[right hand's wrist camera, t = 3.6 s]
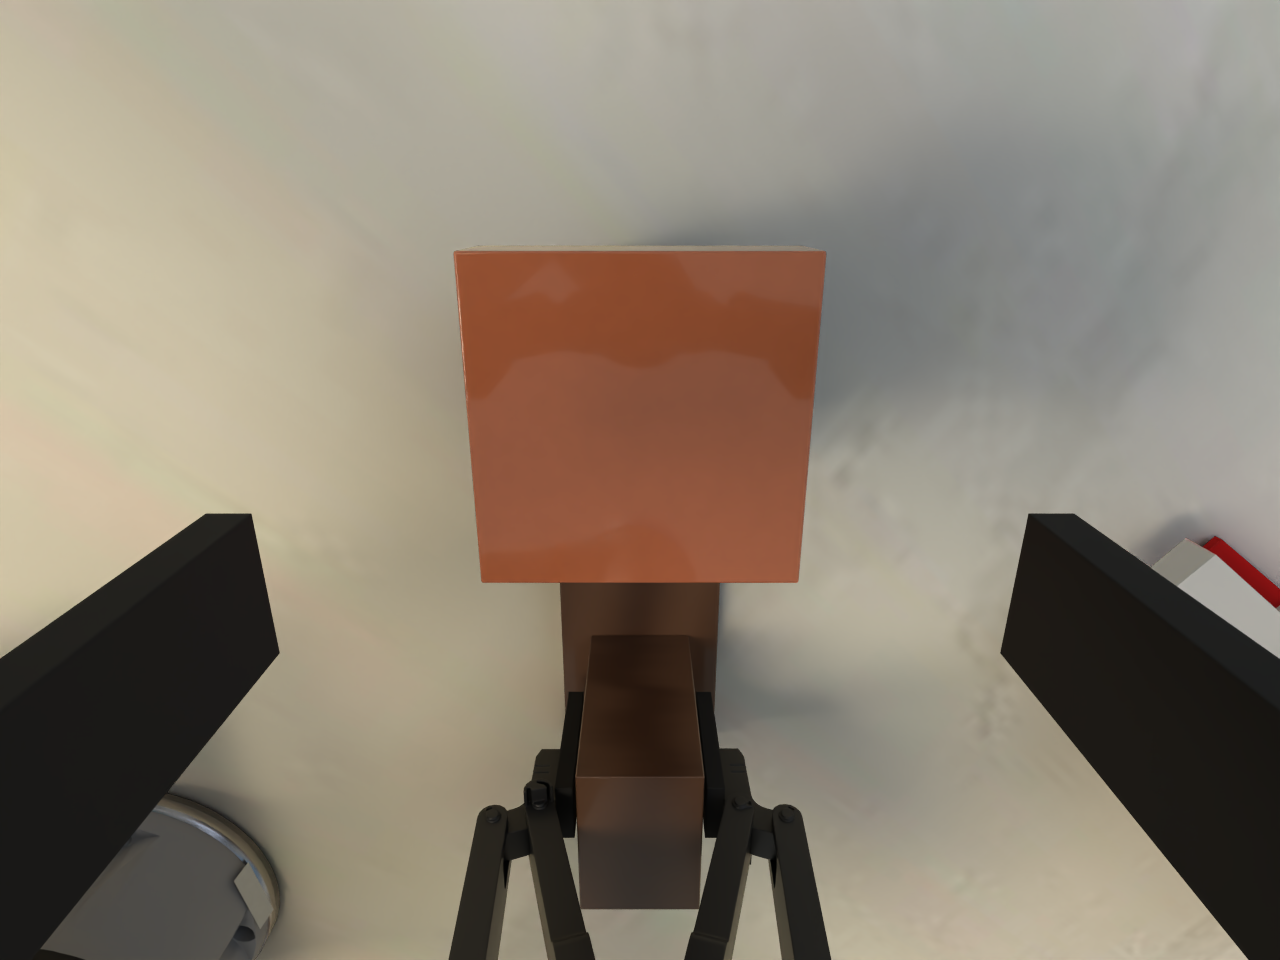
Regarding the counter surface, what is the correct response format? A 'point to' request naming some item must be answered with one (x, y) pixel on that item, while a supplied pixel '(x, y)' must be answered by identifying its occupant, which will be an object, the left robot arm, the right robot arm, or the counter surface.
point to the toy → (1226, 588)
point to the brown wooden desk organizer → (639, 737)
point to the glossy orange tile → (639, 410)
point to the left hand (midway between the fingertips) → (639, 714)
